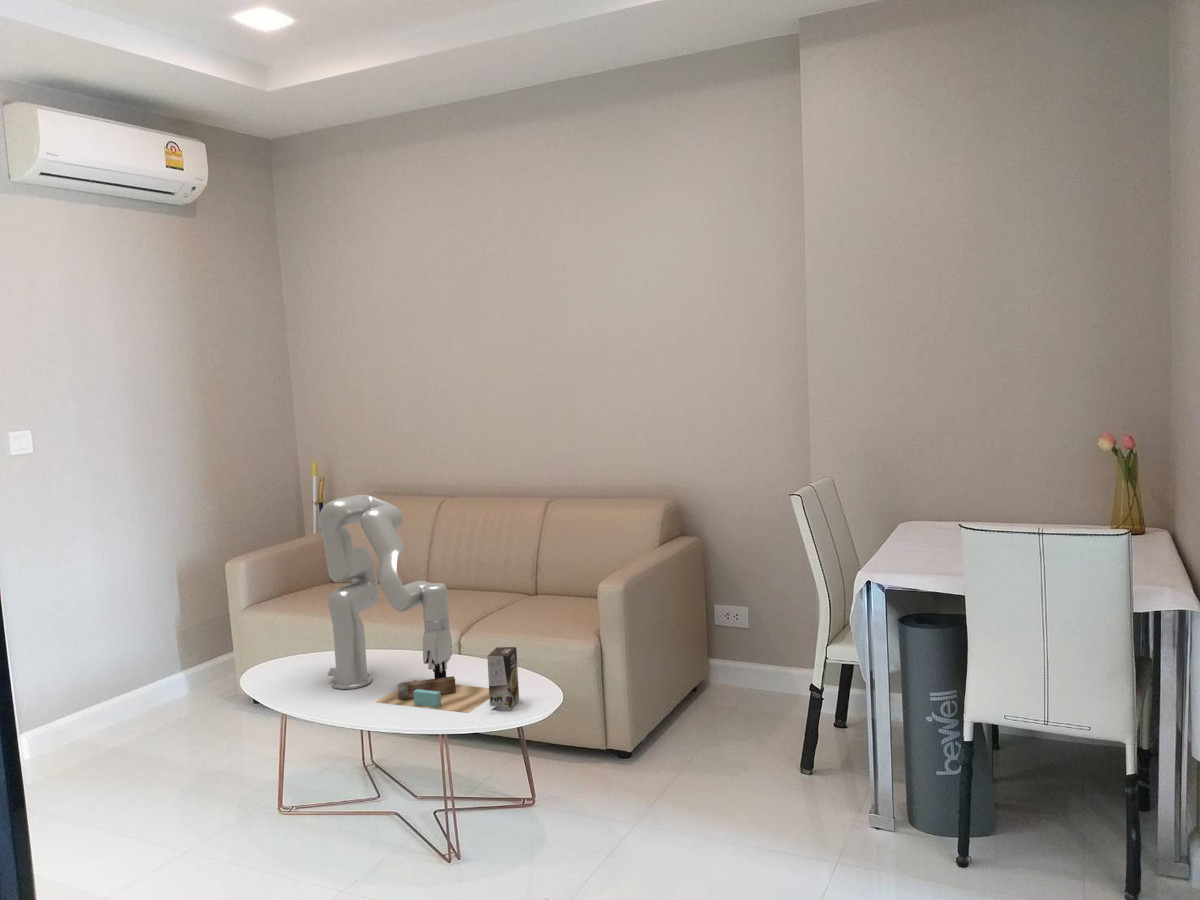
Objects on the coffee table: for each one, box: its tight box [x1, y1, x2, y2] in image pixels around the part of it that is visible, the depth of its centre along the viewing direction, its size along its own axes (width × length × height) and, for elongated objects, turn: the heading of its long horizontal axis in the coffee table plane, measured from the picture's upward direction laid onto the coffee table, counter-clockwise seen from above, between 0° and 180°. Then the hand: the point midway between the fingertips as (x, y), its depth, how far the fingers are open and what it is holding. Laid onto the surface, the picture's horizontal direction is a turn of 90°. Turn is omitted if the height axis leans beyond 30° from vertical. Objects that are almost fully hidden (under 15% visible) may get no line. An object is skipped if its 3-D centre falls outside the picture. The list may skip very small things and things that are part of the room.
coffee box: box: [487, 646, 520, 712], centre depth 261 cm, size 9×6×16 cm
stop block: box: [413, 689, 441, 708], centre depth 260 cm, size 8×2×4 cm, turn 67°
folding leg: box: [397, 675, 457, 700], centre depth 269 cm, size 17×4×4 cm, turn 106°
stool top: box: [375, 680, 490, 714], centre depth 268 cm, size 32×20×2 cm, turn 67°
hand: (440, 683), depth 273 cm, fingers closed
